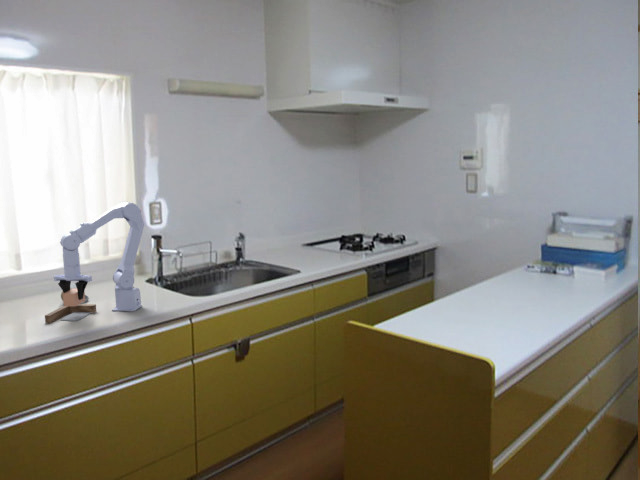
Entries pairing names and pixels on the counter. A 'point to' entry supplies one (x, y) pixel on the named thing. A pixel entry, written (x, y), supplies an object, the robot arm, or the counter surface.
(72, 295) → the block
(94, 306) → the brown l-shaped piece
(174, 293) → the counter surface
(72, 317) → the mat
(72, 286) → the ceramic mug
